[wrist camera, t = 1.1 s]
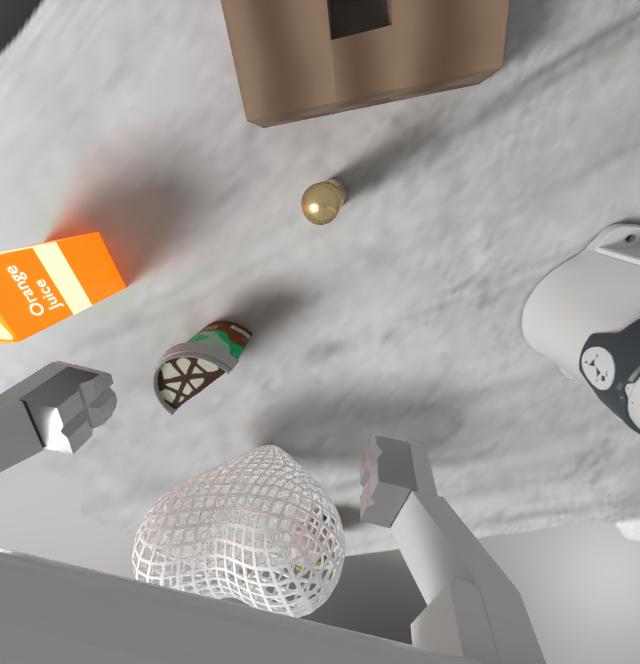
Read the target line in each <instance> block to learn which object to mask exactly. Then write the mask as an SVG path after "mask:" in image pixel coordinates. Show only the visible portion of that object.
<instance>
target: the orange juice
mask: <svg viewBox="0 0 640 664" xmlns="http://www.w3.org/2000/svg"><path fill="white" fill-rule="evenodd" d="M125 288H126V286H125V284H124V282H123V280H122V278H121V276H120V274H119V272H118V270H117V268H116V266H115V264H114V262H113V260H112V258H111V256H110V254H109V252H108V250H107V248H106V246H105V244H104V242H103V240H102V238H101V236H100V234H99V232H95V233H90V234H85V235H79V236H74V237H69V238H64V239H58V240H53V241H48V242H43V243H38V244H34V245H30V246H25V247H21V248H17V249H12V250H8V251H4V252H0V344H7V343H16V342H18V341H22V340H24V339H26V338H28V337H30V336H32V335H34V334H35V333H37V332H39V331H41V330H43V329H45V328H47V327H49V326H51V325H53V324H55V323H57V322H59V321H61V320H63V319H65V318H67V317H69V316H71V315H74V314H76V313H78V312H80V311H82V310H84V309H86V308H88V307H90V306H92V305H93V304H95V303H97V302H99V301H101V300H103V299H105V298H107V297H109V296H111V295H113V294H115V293H117V292H119V291H121V290H123V289H125Z"/></svg>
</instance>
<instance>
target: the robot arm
mask: <svg viewBox="0 0 640 664" xmlns="http://www.w3.org/2000/svg"><path fill="white" fill-rule="evenodd" d="M629 235H631V236H630V238H629V239H628V240H627V241H626V238H627V237H628V236H629ZM522 330H523V334H524V337H525V339H526V341H527V343H528V344H529V345H530V347H531V348H532V349H533V350H535V351H536V352H537V353H539V354H540V355H542V356H544V357H546V358H547V359H549V360H551V361H552V362H554V363H555V364H556V366H557V367H558V369H559V370H560V371H561V372H562V373H563V374H564V375H565V376H566V377H568V378H569V379H572V380H577V381H579V382H580V383H581V384H582V385H584V386H585V387H586V388H588V389H589V390H590V391H592V392H593V393H594V394H595V395H597V396H598V398H599V399H600V400H601V401H602V402H603V403H604V404H605V405H606V406H607V407H608V408H609V409H610V410H611V411H612V412H613V413H614V414H616V417H617V418H618V419H620V420H621V421H622V422H623V423H625V424H627V425H628V426H629V427H630V428H631V429H633V430H634V431H635V432H637V433H639V434H640V225H638V224H622V223H618V224H613V225H611V226H609V227H607V228H606V229H604V230H603V231H602V232H601V233H600V234H599V235H598V236H597V237H596V238H595V239H594V240H593V241H592V242H591V243H590V244H589V245H588V246H587V247H586V249H585V250H583V251H582V252H581V253H579V254H578V255H576V256H574V257H573V258H571V259H569V260H568V261H566V262H564V263H563V264H561V265H560V266H558V267H557V268H556V269H554V270H553V271H552V272H550V273H549V274H548V275H547V276H546V277H545V278H544V279H543V280H542V281H541V282H540V283H539V284H538V285H537V287H536V288H535V289H534V291H533V292H532V294H531V295H530V297H529V299H528V301H527V303H526V305H525V308H524V311H523V316H522ZM112 384H113V380H112V376H111V374H109V373H106V372H102V371H99V370H95V369H91V368H87V367H83V366H79V365H74V364H70V363H66V362H62V361H56V362H52V363H50V364H48V365H47V366H45V367H43V368H42V369H40V370H39V371H37V372H35V373H34V374H32V375H31V376H29V377H27V378H26V379H24V380H23V381H21V382H19V383H18V384H16V385H15V386H13V387H11V388H10V389H8V390H7V391H5V392H3V393H2V394H0V472H1V471H3V470H5V469H7V468H9V467H11V466H13V465H15V464H17V463H19V462H21V461H23V460H25V459H27V458H29V457H31V456H33V455H35V454H37V453H39V452H41V451H42V450H44V449H43V448H45V449H50V450H55V451H60V452H65V453H70V454H74V453H75V452H76V451H77V450H78V449H79V448H80V447H81V446H82V445H83V444H84V443H85V442H86V441H87V440H88V439H89V438H90V437H91V436H92V433H93V428H96V427H98V426H100V425H103V424H104V423H105V422H106V421H107V420H108V419H109V418H110V417H111V416H112V414H113V412H114V410H115V408H116V403H117V398H116V394H115V393H114V391H113V390H112V389H111V388H110V386H111V385H112ZM369 444H370V449H368V450H366V451H365V454H364V457H363V460H362V465H361V474H360V483H361V485H362V486H363V488H364V490H363V492H362V494H361V497H360V521H364V522H368V523H372V524H376V525H380V526H383V527H387V528H390V532H391V534H392V536H393V538H394V540H395V542H396V544H397V546H398V548H399V550H400V551H401V553H402V555H403V557H404V559H405V561H406V563H407V565H408V567H409V569H410V571H411V573H412V575H413V577H414V579H415V581H416V583H417V585H418V587H419V589H420V591H421V593H422V595H423V597H424V599H425V601H426V603H427V605H428V606H427V607H426V608H425V610H424V611H423V612H422V613H421V614H420V615H419V616H418V617H417V618H416V619H415V620H414V622H413V623H412V624H411V633H412V642H413V645H409V644H405V643H401V642H397V641H393V640H388V639H384V638H380V637H376V636H371V635H367V634H363V633H359V632H354V631H350V630H346V629H342V628H338V627H333V626H329V625H325V624H321V623H317V622H312V621H308V620H304V619H300V618H295V617H291V616H287V615H283V614H279V613H274V612H270V611H266V610H262V609H257V608H253V607H249V606H245V605H241V604H236V603H232V602H227V601H224V600H219V599H215V598H211V597H207V596H203V595H198V594H194V593H190V592H186V591H181V590H177V589H173V588H169V587H165V586H160V585H156V584H152V583H148V582H143V581H139V580H134V579H131V578H127V577H122V576H118V575H114V574H109V573H105V572H101V571H97V570H93V569H88V568H84V567H80V566H76V565H72V564H67V563H63V562H59V561H55V560H50V559H46V558H42V557H38V556H34V555H29V554H25V553H20V552H17V551H12V550H8V549H3V548H0V664H546V662H545V659H544V657H543V654H542V652H541V649H540V646H539V643H538V641H537V638H536V635H535V633H534V630H533V628H532V624H531V622H530V620H529V616H528V614H527V611H526V608H525V606H524V603H523V600H522V598H521V595H520V593H519V591H518V590H517V589H516V587H515V586H514V585H513V584H512V582H511V581H510V580H509V579H508V577H507V576H506V575H505V574H504V572H503V571H502V570H501V569H500V567H499V566H498V565H497V564H496V562H494V560H493V559H492V558H491V556H490V555H489V554H488V553H487V551H486V550H485V549H484V548H483V546H482V545H481V544H480V543H479V541H478V540H477V539H476V538H475V536H474V535H473V534H472V533H471V531H470V530H469V529H468V528H467V526H466V525H465V524H464V523H463V521H462V520H461V519H460V518H459V516H458V515H457V514H456V513H455V511H454V510H453V509H452V508H451V506H450V505H449V504H448V503H447V502H446V500H445V499H444V498H443V497H440V496H438V494H437V490H436V486H435V482H434V478H433V474H432V470H431V465H430V461H429V457H428V453H427V449H426V446H425V445H424V443H419V442H415V441H410V440H405V439H401V438H396V437H392V436H387V435H383V434H378V433H373V434H372V436H371V438H370V441H369Z"/></svg>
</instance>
